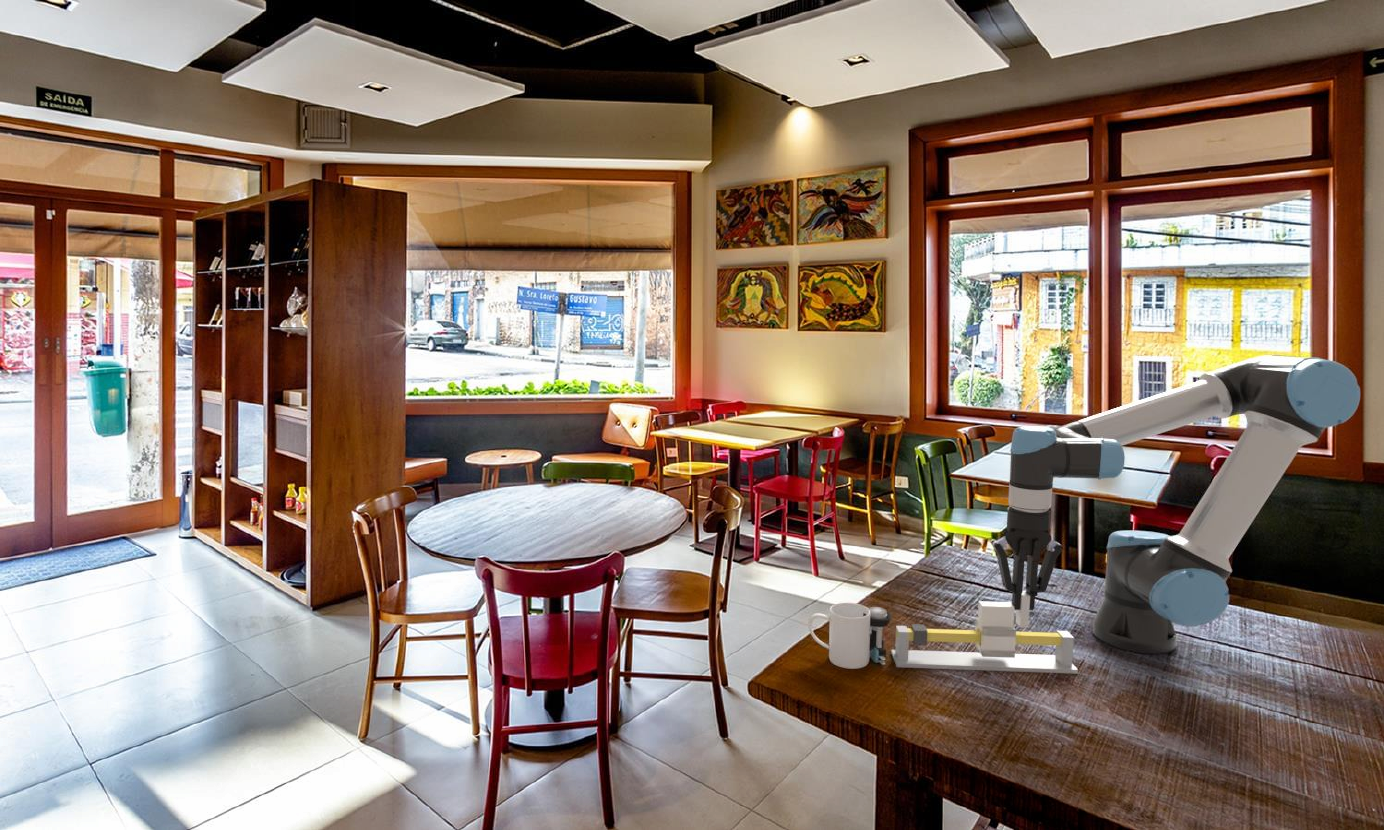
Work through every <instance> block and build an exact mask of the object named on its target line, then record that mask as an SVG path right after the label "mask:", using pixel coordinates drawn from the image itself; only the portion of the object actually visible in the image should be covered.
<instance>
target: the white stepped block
mask: <svg viewBox="0 0 1384 830" xmlns="http://www.w3.org/2000/svg"><path fill="white" fill-rule="evenodd" d="M977 610H978V611H977V612H978V614H977V617H975V625H974V627H975V628H974V630H980V632H981V643H974V646H975V647H976V649H977V650H978V653H981V655H982V656H983V657H1007V658H1015V654H1016V644H1015V643H1016V632H1017V629H1016V628H1015V627H1014V622H1015V609H1014V606H1013V605H1012V601H986V600H985V601H982V600H981V601H980V600H979V601H978V609H977Z"/></svg>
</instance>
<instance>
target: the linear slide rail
mask: <svg viewBox="0 0 1384 830" xmlns="http://www.w3.org/2000/svg"><path fill="white" fill-rule="evenodd" d="M896 628H897V630H898V639H897V637H896V636H895V643H894V644H895V648H894V649H891V650H890V651H891V656H892V659H893V662H894V663H895V667H896V668H904V669H905V668H908V669H910V668H911V669H935V670H936V669H937V670H939V669H940V670H964V671H965V670H966V671H971V670H972V671H987V672H988V671H990V672H993V671H995V672H996V671H997V672H1019V673H1023V672H1024V673H1049V674H1075V675H1078V674H1079V669H1078V667H1076V666H1075V664H1073V656H1074V640H1075V637H1074V636H1073V635H1072V634H1071V633H1070V632H1069V631H1068V630H1056V633H1059V634H1060V636H1061V637H1062V641H1061V646H1056V645H1055V654H1031V653H1030V654H1029V653H1028V654H1027V653H1015V658H1007V657H983V656H982V655H981V653H980V652H974V651H973V652H972V651H970V652H969V651H967V652H966V651H946V650H945V651H944V650H943V651H942V650H941V651H940V650H919V649H918V650H917V649H916V650H915V649H914V650H913V649H909V646H910V641H909V631H908V629H907V628H908V627H907V625H895V629H896Z"/></svg>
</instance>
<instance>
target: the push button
mask: <svg viewBox="0 0 1384 830" xmlns="http://www.w3.org/2000/svg"><path fill="white" fill-rule="evenodd" d="M868 609H869V610H870V650H869V659H871V660H872V661H873V662H874V663H876V664H878V663H879V664H881V665H883V666H884V665H886V662H885V661H886V657H887V650H886V648H885V645H884V644H885V641H884V639H883V630H884V629H883V628H886V627H887V626H889V624H890V620H891V618H892V616H891V614H890V613H888V612H887V610H886V609H885V608H883V607H879V606H871V607H868ZM863 616H866V614H864V613H863Z"/></svg>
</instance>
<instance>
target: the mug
mask: <svg viewBox="0 0 1384 830" xmlns="http://www.w3.org/2000/svg"><path fill="white" fill-rule="evenodd" d="M863 613H864V614H866V616H863ZM817 618H822V619H824V620H826V621H827V622H829V632H828V633H829V634H828V635H829V639H828V644H827V643H826V642H823V641H822V640H820V639H819V638H818V636H817V635H816V634H815V632H814V631H813V624H812V623H813V622H814V620H815V619H817ZM807 624H808V631H809V633H810V635H811V637H812V638H813V640H814V641H815V642H816V643H817V644H818V645H820V646H822V647H823V648H825V649H826V650H828V658H829V661H830V663H831V664H833V665H835V666H837V667H839V668H843V669H849V670H854V669H855V670H856V669H861V668H864V667H866V666H867V665H869V663H870V658H869V650H870V631H871V626H870V610H869V607H867V606H865V605H863V604H859V603H854V602H839V603H835V604H833V605H831V606H830V607H829V616H828V615H826V614H824V613H821V612H820V613H819V612H818V613H813V614H812V615H810V617H809V619H808V623H807Z"/></svg>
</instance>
